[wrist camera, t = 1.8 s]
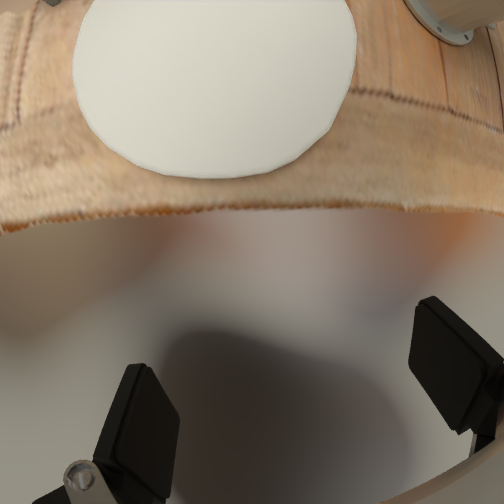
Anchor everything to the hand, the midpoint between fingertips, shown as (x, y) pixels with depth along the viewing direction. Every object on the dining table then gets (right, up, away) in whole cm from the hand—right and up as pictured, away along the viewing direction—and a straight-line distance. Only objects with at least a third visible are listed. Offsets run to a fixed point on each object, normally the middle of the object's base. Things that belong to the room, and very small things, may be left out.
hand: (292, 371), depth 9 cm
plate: (-5, +24, +13) cm, 28 cm away
